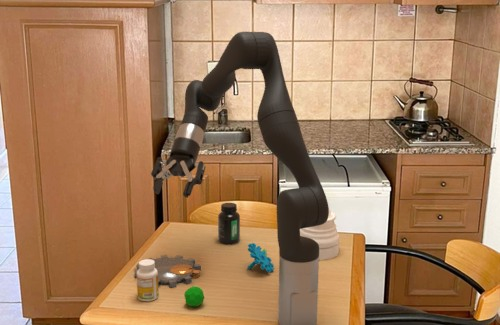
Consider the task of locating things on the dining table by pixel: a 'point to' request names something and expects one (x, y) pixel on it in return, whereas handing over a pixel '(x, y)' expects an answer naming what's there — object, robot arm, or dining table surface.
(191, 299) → the polyhedron
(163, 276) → the sprocket plate
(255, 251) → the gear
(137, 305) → the dining table surface
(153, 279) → the supplement bottle
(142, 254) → the dining table surface
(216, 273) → the dining table surface
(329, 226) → the honey pot
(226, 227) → the supplement bottle
